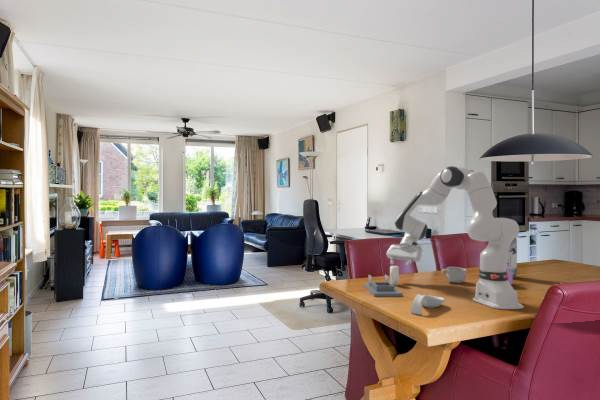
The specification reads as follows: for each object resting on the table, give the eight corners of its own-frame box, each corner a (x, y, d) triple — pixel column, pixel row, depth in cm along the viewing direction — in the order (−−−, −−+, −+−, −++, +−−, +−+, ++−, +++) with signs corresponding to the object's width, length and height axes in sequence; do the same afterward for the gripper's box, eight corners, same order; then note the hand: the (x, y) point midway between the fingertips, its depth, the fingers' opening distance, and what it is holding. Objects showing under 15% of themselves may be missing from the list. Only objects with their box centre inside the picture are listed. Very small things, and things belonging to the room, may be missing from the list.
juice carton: (500, 278, 246) (501, 233, 246) (498, 275, 256) (498, 232, 256) (517, 279, 243) (517, 234, 243) (514, 276, 253) (514, 232, 253)
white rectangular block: (399, 285, 225) (400, 267, 225) (391, 285, 224) (391, 267, 224) (397, 283, 229) (397, 265, 229) (388, 283, 229) (389, 265, 229)
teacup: (463, 280, 239) (463, 266, 239) (468, 284, 228) (469, 270, 228) (438, 279, 240) (438, 266, 240) (443, 283, 229) (443, 269, 229)
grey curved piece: (422, 301, 191) (422, 286, 191) (448, 305, 184) (448, 289, 184) (402, 312, 172) (403, 295, 172) (430, 317, 165) (430, 300, 165)
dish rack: (402, 296, 200) (402, 283, 200) (374, 296, 199) (374, 283, 199) (388, 285, 224) (388, 273, 224) (363, 285, 223) (363, 274, 223)
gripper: (389, 241, 243) (380, 259, 236) (421, 243, 229) (413, 263, 222) (393, 247, 247) (384, 266, 239) (425, 251, 233) (417, 270, 226)
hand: (399, 264), depth 231 cm, fingers open, 8 cm apart
